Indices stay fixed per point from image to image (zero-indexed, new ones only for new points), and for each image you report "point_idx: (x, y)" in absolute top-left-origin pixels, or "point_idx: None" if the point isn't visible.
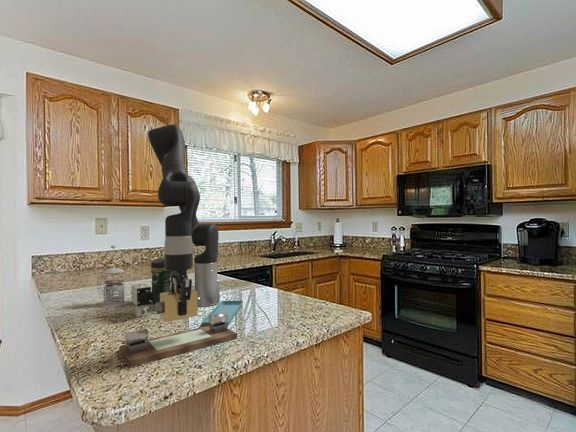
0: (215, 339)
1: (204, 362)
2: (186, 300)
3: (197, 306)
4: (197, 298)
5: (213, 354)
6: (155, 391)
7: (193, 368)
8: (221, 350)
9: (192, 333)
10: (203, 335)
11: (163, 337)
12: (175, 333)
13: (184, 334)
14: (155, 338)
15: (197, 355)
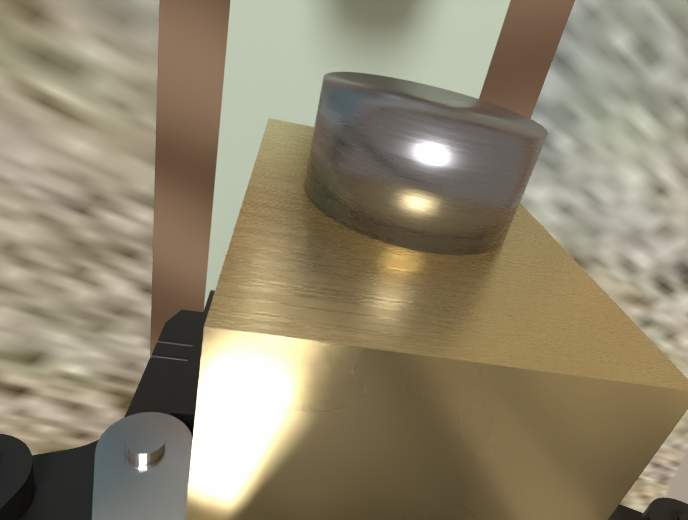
0: (571, 2)
1: (681, 234)
2: (623, 518)
3: (525, 210)
4: (588, 275)
5: (661, 134)
6: (660, 461)
7: (670, 303)
8: (675, 51)
9: (291, 72)
10: (422, 33)
11: (186, 264)
12: (160, 163)
13: (259, 135)
14: (166, 306)
15: (573, 209)
